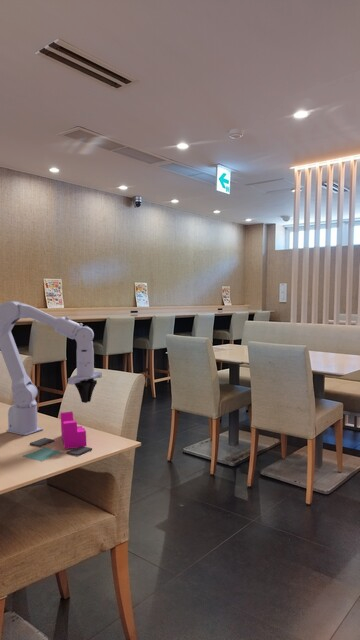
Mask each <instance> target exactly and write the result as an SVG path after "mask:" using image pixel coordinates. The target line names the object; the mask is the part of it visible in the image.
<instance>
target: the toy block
mask: <svg viewBox="0 0 360 640" xmlns="http://www.w3.org/2000/svg"><path fill="white" fill-rule="evenodd" d="M60 429H61V430H60V432H61V439H62V442H63V445H64V449H65V450H66V449H67V450H68V449H74V448H77V447H83V446H84V447H87V431H86V429H85V427H83V425H80V426H78V421H77V420H76V419H74V413H73V411H64V412H60Z"/></svg>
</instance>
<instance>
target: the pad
mask: <svg viewBox="0 0 360 640" xmlns="http://www.w3.org/2000/svg"><path fill="white" fill-rule="evenodd" d="M63 453H64V451H61V450H58V449H57V450H56V449H53V448H48V447H44V446H43V447H42V448H39V449H36V450H34V451H31V452H28V453H26V454H23V455H22V457H23V458H28V459H31V460H35V461H39V462H43V461H45V460H48V459H51V458H53V457H55V456H58V455H61V454H63Z"/></svg>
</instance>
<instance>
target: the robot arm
mask: <svg viewBox="0 0 360 640" xmlns="http://www.w3.org/2000/svg"><path fill="white" fill-rule="evenodd" d="M20 319H33V320H35V321H37V322H40V323H43V324H45V325H48V326H50V327H52V328H53V329H54V332H55V333H57V334H59V335H62V336H64V337H66V338H68V339H71V340H75V342H76V375H74V376H71V377H69V378H67V384H68V385H74V386H75V388H76V389H77V392H78V394H79V396H80V400H81V403H83V404H84V403H85V404H87V403H90V402H91V400H92V396H93V392H94V389H95V387H96V385H97V384H98V382H97V379H102V378H103V372H101V371H95V365H94V364H95V353H94V352H95V351H94V350H95V349H94V341H93V340H94V337H95V333H94V330H93V329H92V328H91V327H89V326H88V325H84V324H83V323H82V322H80V323H78V322H76V321H74V320H72V319H71V318H70V316H66V317H65V316H60V317H55V316H53V315H51V314H49V313H46V312H45V311H43V310H41V309H39V308H37V307H35V306H32V305H30V304H28V303H23V302H21V301H18V300H11V301H10V300H9V301H7V300H6V301H4V302H2V303H1V304H0V353H1V355H2V358H3V360H4V363H5V366H6V369H7V371H8V373H9V377H10V379H11V390H12V400H13V401H12V402H13V403H14V404H12V405H10V407H9V409H8V411H7V419H8V421H7V423H8V428H7V429H6V430H5V431H6V432H8V433H12V434H17V435H21V436H28V435H31V434H35V433H36V432H40V431H44V427H39V426H38V402H37V400H36V398H37V396H38V393H39V392H38V391H39V390H38V388H37V386H36V385H35V384H34V383H33V381H32V379H31V377H30V376H29V375H28V374H27V371H26V369H25V366H24V363H23V361H22V357H21V355H20V352H19V349H18V347H17V344H16V341H15V338H14V336H13V333H12V330H13V328H14V326H15V325H16V323H17V322H19V320H20ZM83 325H84V326H83Z"/></svg>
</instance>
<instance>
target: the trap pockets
mask: <svg viewBox="0 0 360 640" xmlns="http://www.w3.org/2000/svg"><path fill="white" fill-rule="evenodd" d="M55 440H56V439H51V438H47V437H43V438H39V439H38V440H35V441H32V442H29V445H30V446H34V447H37V448H38V447H39V448H41V447H44V446H47V445H49V444H51V443H55ZM92 450H93V448H92V447H87V446H83V447H76V448H71V449H69V450H67V451H66V455H67V454H68V455H73V456H75V457H79V456H81V455H83V454H86V453H88V452H91V451H92Z"/></svg>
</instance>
